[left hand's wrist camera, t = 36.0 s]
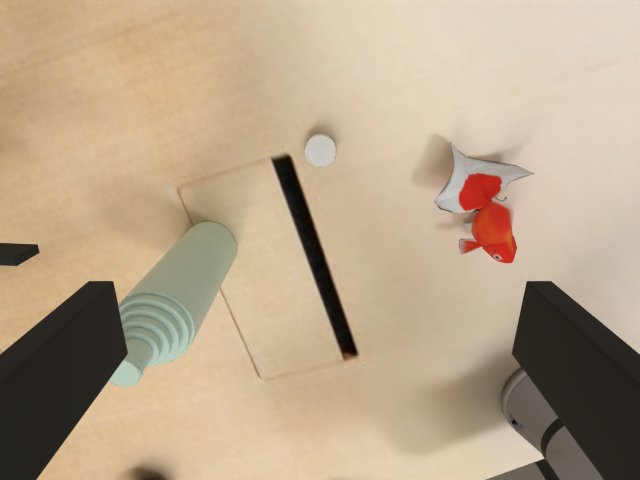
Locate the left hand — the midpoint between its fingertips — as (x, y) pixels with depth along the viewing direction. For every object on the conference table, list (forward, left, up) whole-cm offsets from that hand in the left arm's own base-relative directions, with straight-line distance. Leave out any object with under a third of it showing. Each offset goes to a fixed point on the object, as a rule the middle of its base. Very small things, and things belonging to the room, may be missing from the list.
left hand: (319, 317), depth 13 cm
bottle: (+10, +17, -39) cm, 43 cm away
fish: (-20, -1, -39) cm, 43 cm away
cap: (0, 0, -37) cm, 37 cm away
